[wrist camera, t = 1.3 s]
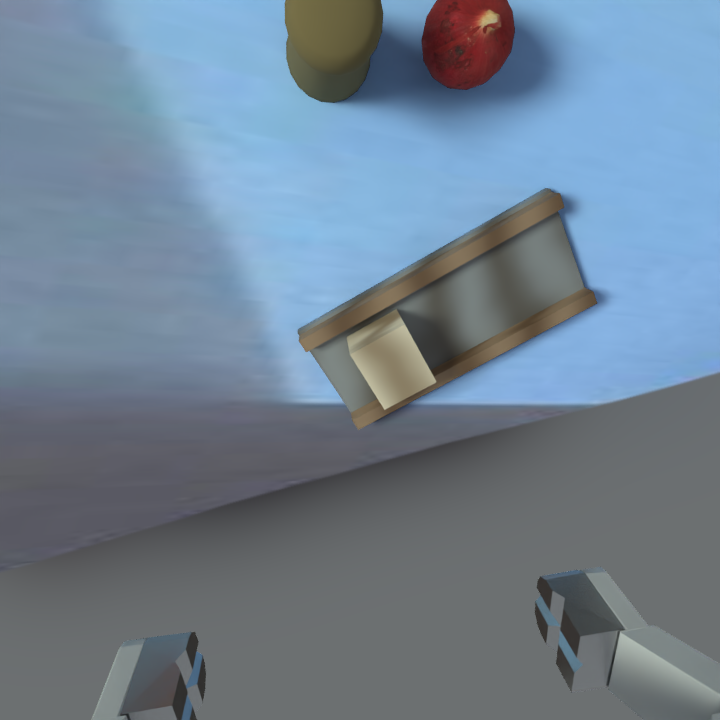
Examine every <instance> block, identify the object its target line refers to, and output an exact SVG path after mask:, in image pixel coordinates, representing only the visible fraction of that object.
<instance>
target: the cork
mask: <svg viewBox="0 0 720 720" xmlns="http://www.w3.org/2000/svg"><path fill="white" fill-rule="evenodd" d="M382 23H383V9H382V4H381V0H286V1H285V24H286V28H287V31H288V35H289V36H288V39H287V43H286V54H287V62H288V66H289V69H290V73H291V75H292V77H293V78H294V80H295V82H296V83H297V85H298V87H299V88H300V89H302V90H303V91H304V92H305V93H306V94H307V95H308V96H310V97H312V98H314V99H316V100H319V101H321V102H333V103H334V102H338V101H341V100H345V99H347V98H348V97H350V96H351V95H352V94H354V93H355V92H356V91H357V90H358V89H359V87H360V86H361V85H362V83H363V82H364V80H365V78H366V75H367V72H368V69H369V66H370V56H371V55H372V53H373V52H374V51H375V49H376V47H377V44H378V42H379V39H380V36H381V33H382Z"/></svg>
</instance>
